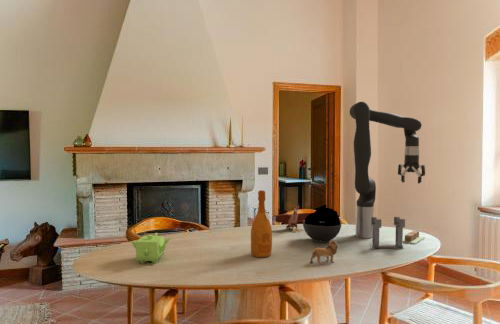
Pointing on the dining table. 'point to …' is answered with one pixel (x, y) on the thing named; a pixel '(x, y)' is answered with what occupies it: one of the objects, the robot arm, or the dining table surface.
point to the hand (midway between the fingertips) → (411, 182)
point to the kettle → (150, 248)
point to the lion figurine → (325, 252)
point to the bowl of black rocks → (322, 224)
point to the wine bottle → (261, 230)
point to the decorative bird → (291, 218)
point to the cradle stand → (399, 233)
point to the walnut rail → (411, 236)
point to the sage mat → (414, 240)
